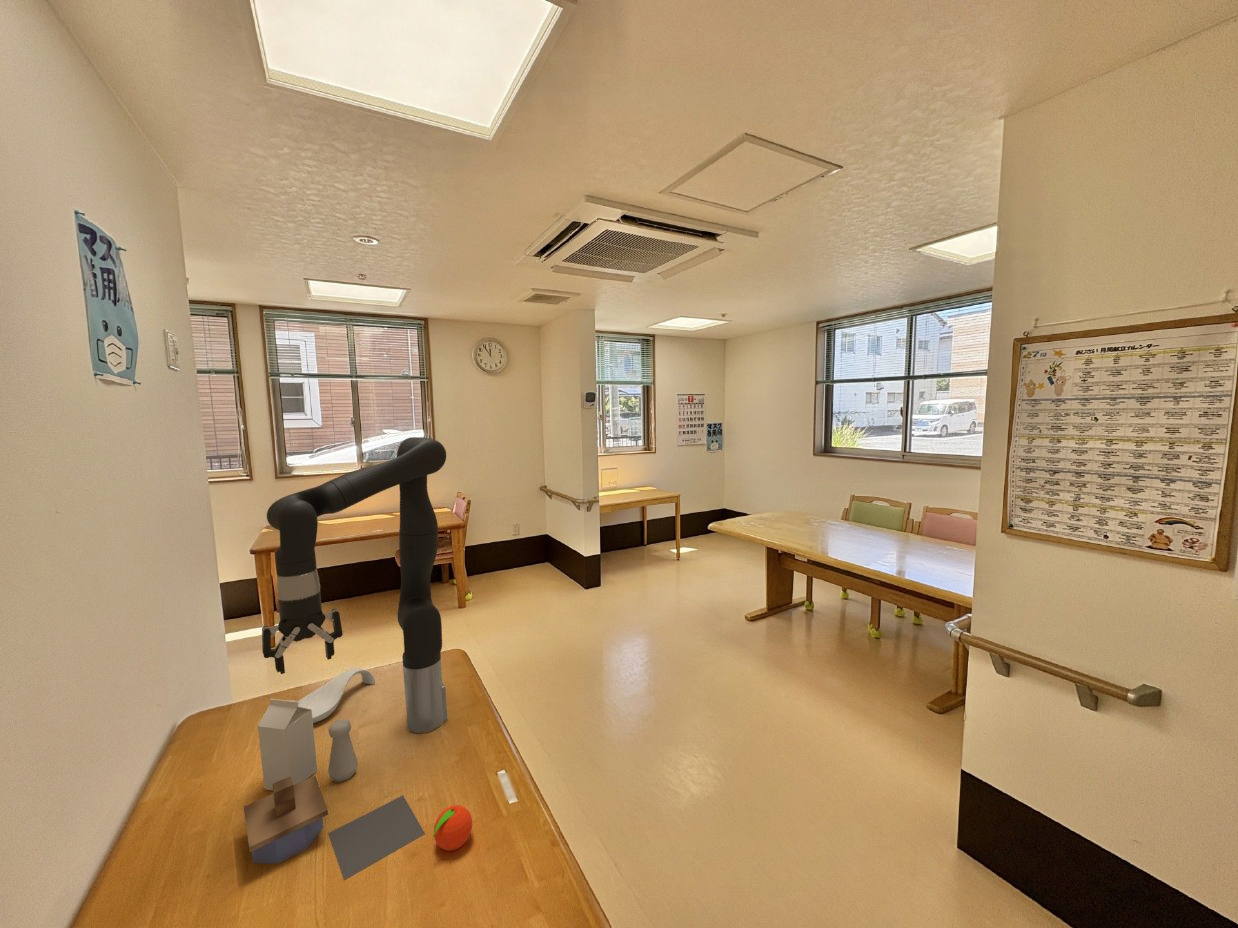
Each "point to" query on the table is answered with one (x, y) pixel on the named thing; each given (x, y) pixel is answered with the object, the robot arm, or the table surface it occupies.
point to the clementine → (452, 827)
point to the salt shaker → (341, 752)
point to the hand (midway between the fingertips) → (306, 665)
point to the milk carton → (286, 743)
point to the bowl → (288, 844)
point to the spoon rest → (332, 693)
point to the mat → (374, 836)
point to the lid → (283, 811)
